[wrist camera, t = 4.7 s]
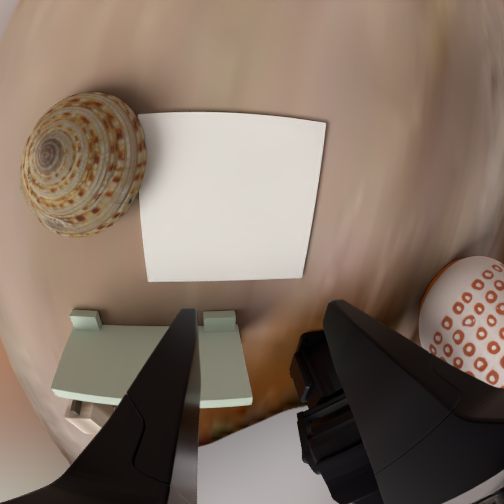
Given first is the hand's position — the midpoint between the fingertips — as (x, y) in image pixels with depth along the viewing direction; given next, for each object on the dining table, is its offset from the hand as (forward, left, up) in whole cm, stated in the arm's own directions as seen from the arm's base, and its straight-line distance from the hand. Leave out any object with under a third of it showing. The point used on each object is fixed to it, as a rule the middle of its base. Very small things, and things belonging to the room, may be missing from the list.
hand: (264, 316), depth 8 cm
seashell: (+11, 0, -10) cm, 15 cm away
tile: (0, 0, -10) cm, 10 cm away
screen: (+6, +10, -10) cm, 16 cm away
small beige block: (+16, +23, -10) cm, 30 cm away
